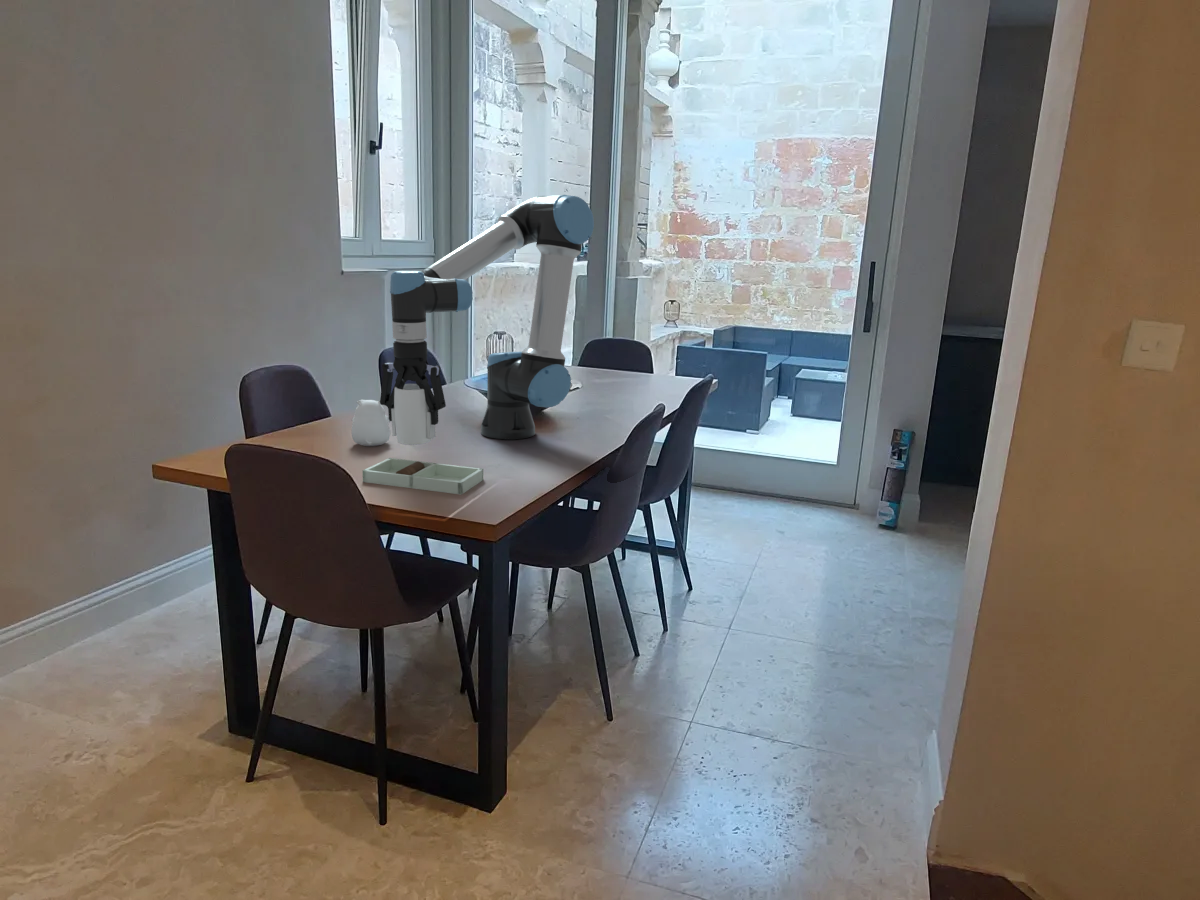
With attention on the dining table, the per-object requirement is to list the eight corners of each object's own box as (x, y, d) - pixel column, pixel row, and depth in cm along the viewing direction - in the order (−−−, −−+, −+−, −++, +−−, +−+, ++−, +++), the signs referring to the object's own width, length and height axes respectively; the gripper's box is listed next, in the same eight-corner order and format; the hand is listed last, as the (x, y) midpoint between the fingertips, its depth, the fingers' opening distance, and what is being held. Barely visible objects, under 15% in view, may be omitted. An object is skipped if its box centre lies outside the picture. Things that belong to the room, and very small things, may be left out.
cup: (410, 439, 192) (407, 382, 188) (439, 443, 189) (437, 385, 185) (388, 447, 184) (385, 388, 181) (418, 452, 181) (416, 391, 177)
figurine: (389, 450, 199) (387, 403, 196) (348, 450, 197) (347, 403, 194) (392, 440, 208) (391, 396, 205) (354, 440, 207) (352, 395, 204)
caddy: (390, 470, 182) (389, 457, 181) (483, 481, 176) (483, 468, 175) (362, 483, 171) (362, 470, 170) (461, 496, 165) (461, 482, 165)
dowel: (412, 461, 178) (424, 461, 177) (413, 473, 178) (425, 474, 178) (394, 470, 170) (406, 470, 169) (395, 483, 171) (407, 484, 170)
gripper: (359, 339, 179) (365, 436, 185) (445, 344, 174) (448, 443, 180) (377, 335, 186) (382, 428, 192) (459, 340, 181) (462, 436, 187)
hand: (414, 436), depth 186 cm, fingers closed on cup, 8 cm apart
